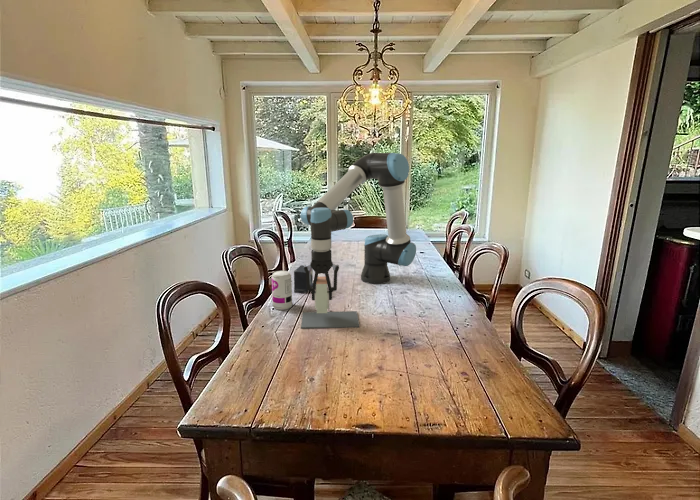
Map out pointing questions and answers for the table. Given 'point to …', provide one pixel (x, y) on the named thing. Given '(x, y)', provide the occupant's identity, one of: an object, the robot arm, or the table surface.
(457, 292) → the table surface
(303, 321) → the mat
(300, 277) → the small box
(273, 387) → the table surface
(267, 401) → the table surface
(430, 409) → the table surface
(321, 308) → the slab
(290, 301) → the supplement can
